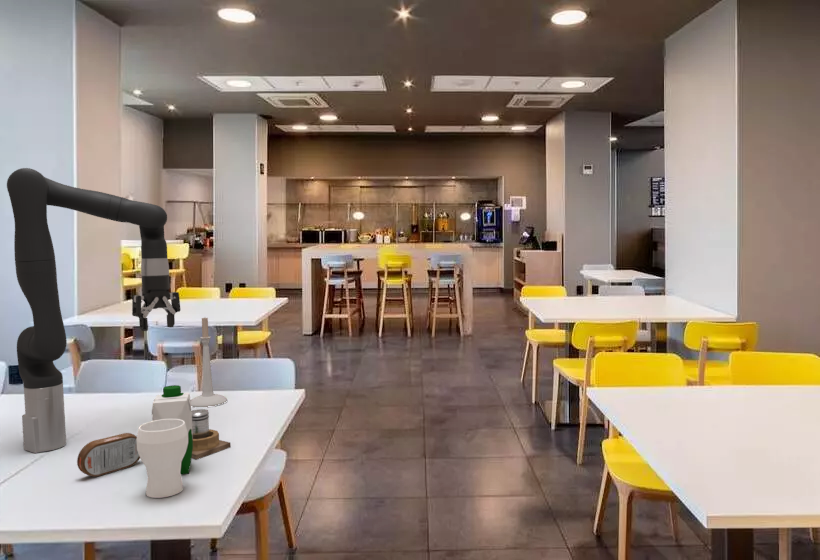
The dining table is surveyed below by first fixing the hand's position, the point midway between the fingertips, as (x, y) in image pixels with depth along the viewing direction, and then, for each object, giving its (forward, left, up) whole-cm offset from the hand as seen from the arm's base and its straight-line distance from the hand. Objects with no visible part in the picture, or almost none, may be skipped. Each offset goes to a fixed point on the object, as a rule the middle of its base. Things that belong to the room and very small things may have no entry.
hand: (157, 328), depth 180 cm
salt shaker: (-6, -25, -29) cm, 39 cm away
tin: (-27, -19, -30) cm, 45 cm away
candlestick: (+27, +13, -30) cm, 43 cm away
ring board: (-6, -25, -30) cm, 40 cm away
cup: (-28, -41, -30) cm, 58 cm away
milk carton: (-19, -32, -30) cm, 48 cm away
